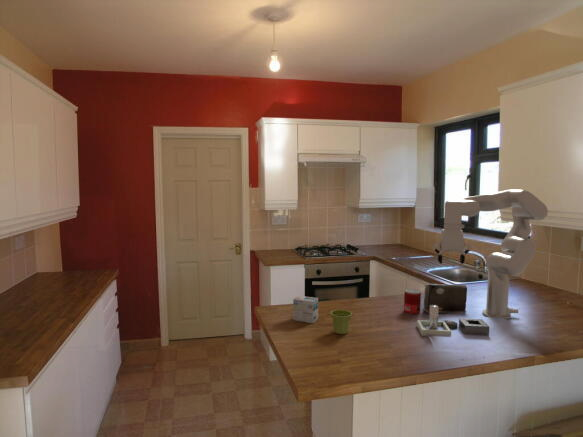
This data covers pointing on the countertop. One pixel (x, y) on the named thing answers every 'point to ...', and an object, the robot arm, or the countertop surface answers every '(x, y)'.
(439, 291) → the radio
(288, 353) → the countertop surface
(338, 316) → the plant pot
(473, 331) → the block
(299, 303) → the light bulb box
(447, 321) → the wheel
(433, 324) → the pin
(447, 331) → the parts tray
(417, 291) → the canned food
